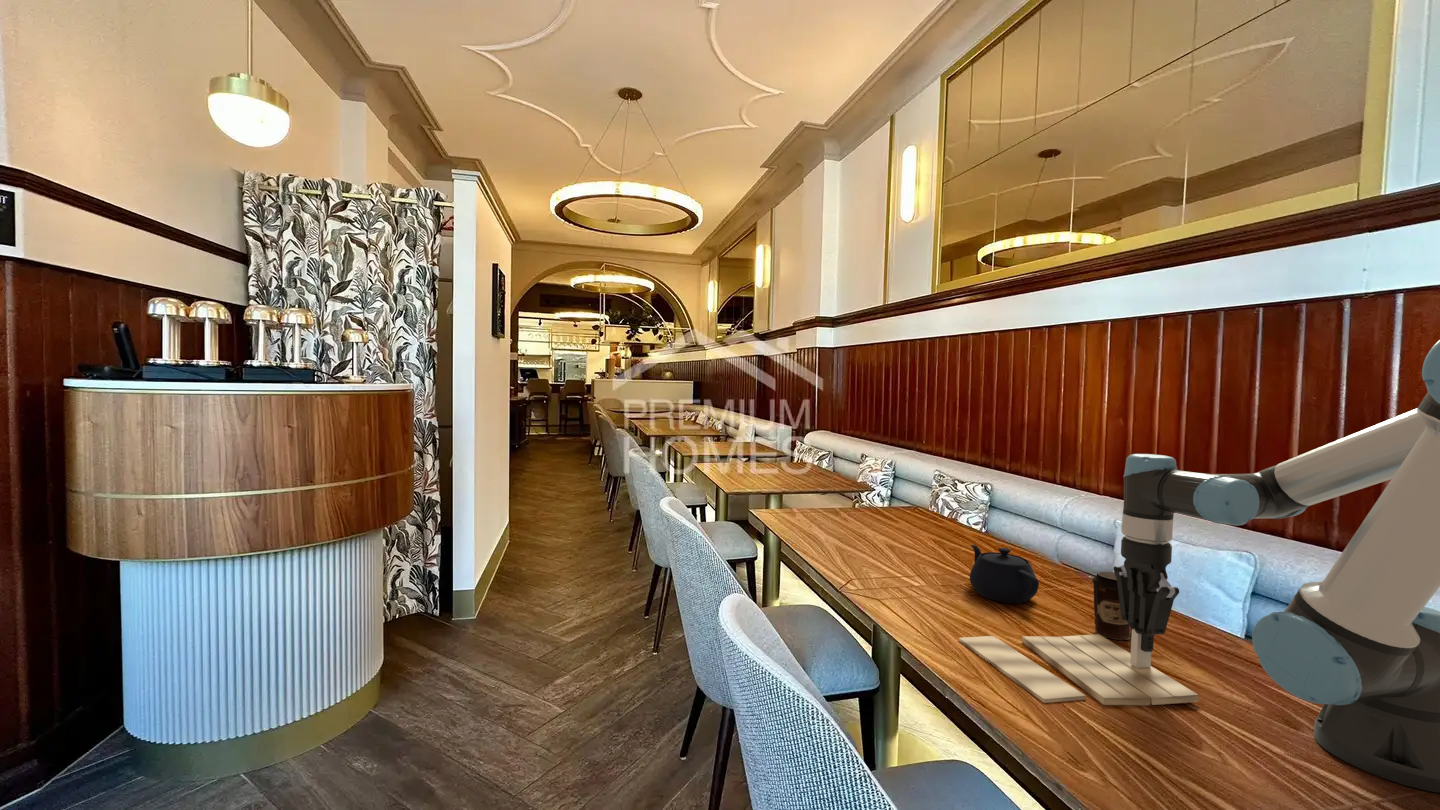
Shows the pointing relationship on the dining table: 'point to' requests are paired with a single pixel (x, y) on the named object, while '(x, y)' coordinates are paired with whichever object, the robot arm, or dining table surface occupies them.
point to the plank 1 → (1022, 670)
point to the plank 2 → (1132, 670)
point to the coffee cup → (1108, 608)
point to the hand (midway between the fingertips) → (1140, 665)
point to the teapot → (1003, 576)
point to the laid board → (1086, 671)
